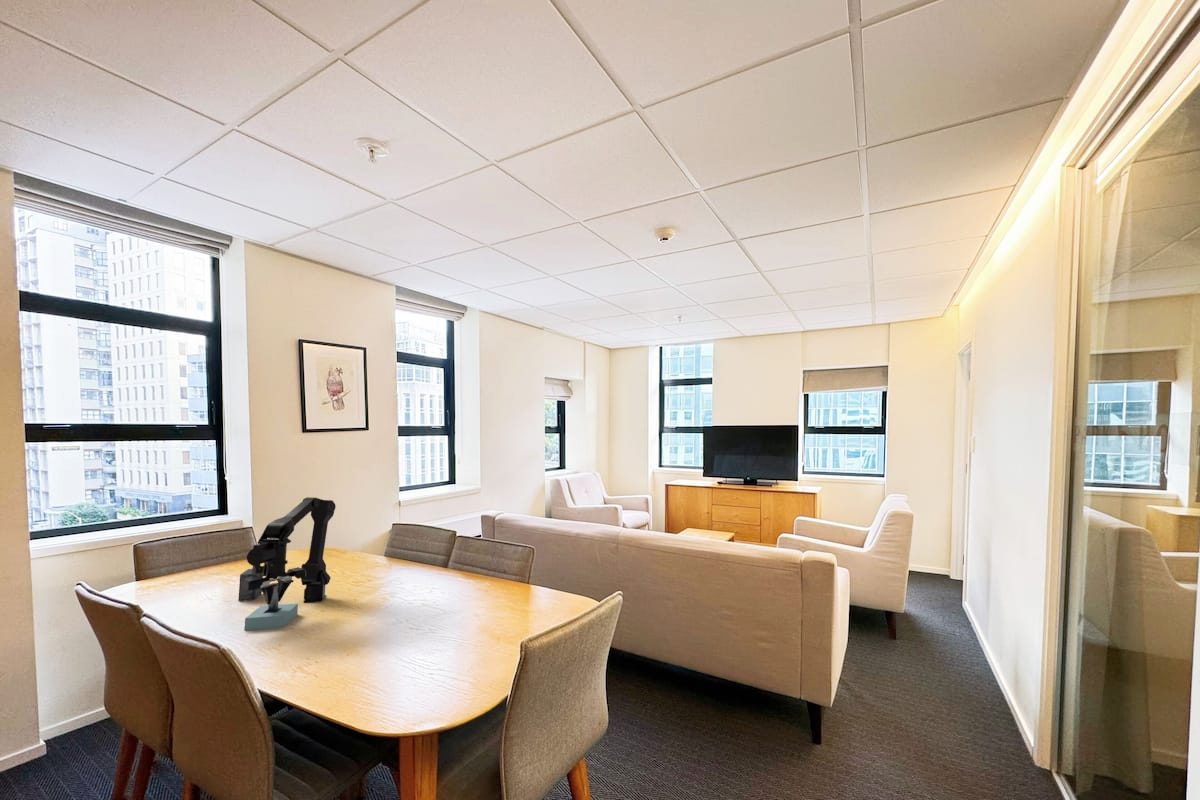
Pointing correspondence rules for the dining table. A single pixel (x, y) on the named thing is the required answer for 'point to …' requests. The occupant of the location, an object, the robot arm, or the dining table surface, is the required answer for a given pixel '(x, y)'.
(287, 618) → the hole block
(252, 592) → the box
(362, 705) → the dining table surface
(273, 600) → the peg
